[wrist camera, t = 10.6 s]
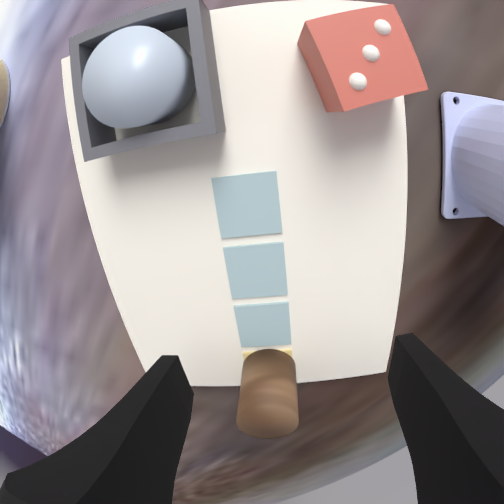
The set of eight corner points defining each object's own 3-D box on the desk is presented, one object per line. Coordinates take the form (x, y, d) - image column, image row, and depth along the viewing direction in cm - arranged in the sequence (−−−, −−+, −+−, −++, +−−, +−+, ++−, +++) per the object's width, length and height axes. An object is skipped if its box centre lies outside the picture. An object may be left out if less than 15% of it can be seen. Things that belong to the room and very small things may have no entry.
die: (366, 25, 12) (395, 2, 8) (394, 93, 14) (431, 89, 10) (297, 43, 13) (305, 19, 9) (326, 112, 14) (345, 111, 10)
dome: (190, 29, 12) (173, 12, 10) (202, 114, 14) (186, 115, 12) (107, 53, 13) (78, 46, 10) (118, 133, 15) (89, 139, 12)
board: (382, 10, 12) (408, -12, 9) (381, 361, 23) (394, 398, 19) (71, 61, 14) (32, 56, 11) (155, 374, 25) (141, 408, 21)
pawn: (288, 343, 20) (290, 401, 16) (300, 379, 22) (304, 433, 17) (235, 354, 21) (226, 410, 16) (252, 388, 22) (247, 441, 18)
